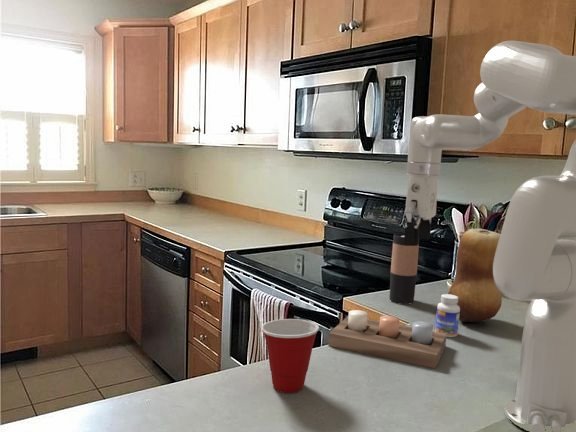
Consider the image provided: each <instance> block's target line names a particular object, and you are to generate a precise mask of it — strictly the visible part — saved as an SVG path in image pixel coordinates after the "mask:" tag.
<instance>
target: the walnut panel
mask: <svg viewBox="0 0 576 432" xmlns="http://www.w3.org/2000/svg"><path fill="white" fill-rule="evenodd" d="M348 317H349V315H347V316H346V317H345V318H344V319H343V320H342V321H340V323H338V324H337V325H336V326H335V327H334V328H333V329H332V330H331V331H329V332H328V346H329V347H333V348H339V349H342V350H348V351H353V352H355V353H356V352H358V353H362V354H366V355H371V356H376V357H379V358H380V357H381V358H384V359H390V360H394V361H399V362H403V363H409V364H414V365H419V366H422V367H427V368H432V369H437V367H438V364H439V362H440V360H441V358H442V355H443V353H444V351H445V348H446V346H447V345H446V344H447V337H446V335H447V334H445V333H440V332H435V330H433V331H432V343H431V345H425V344H420V343H414V342H412V341H411V338H412V326H406V325H400V324H399V332H398V338H396V339H394V338H389V337H384V336H379V324H380V320H374V319H370V318H369V319H368V318H367V330H366V332H358V331H353V330H348Z"/></svg>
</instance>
